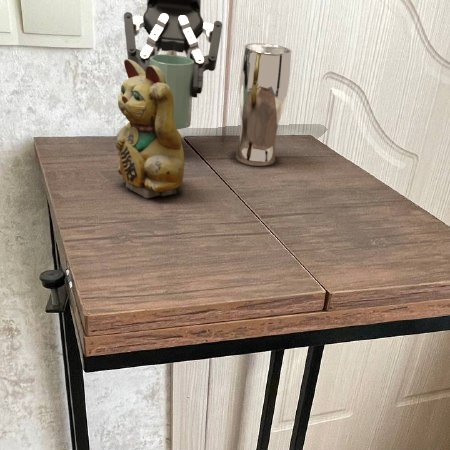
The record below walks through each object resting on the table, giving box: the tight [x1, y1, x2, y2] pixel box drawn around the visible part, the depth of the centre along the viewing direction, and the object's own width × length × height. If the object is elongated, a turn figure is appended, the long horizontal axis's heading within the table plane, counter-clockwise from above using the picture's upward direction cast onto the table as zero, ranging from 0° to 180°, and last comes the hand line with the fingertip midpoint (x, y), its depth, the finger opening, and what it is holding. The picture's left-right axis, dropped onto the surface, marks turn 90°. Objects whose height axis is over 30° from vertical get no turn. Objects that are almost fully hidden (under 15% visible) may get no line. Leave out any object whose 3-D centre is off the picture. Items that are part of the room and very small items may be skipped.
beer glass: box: [234, 42, 293, 167], centre depth 90 cm, size 7×7×15 cm
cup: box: [150, 53, 194, 130], centre depth 89 cm, size 6×6×8 cm
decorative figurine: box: [115, 58, 185, 199], centre depth 78 cm, size 10×8×15 cm
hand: (171, 91), depth 87 cm, fingers closed on cup, 6 cm apart
